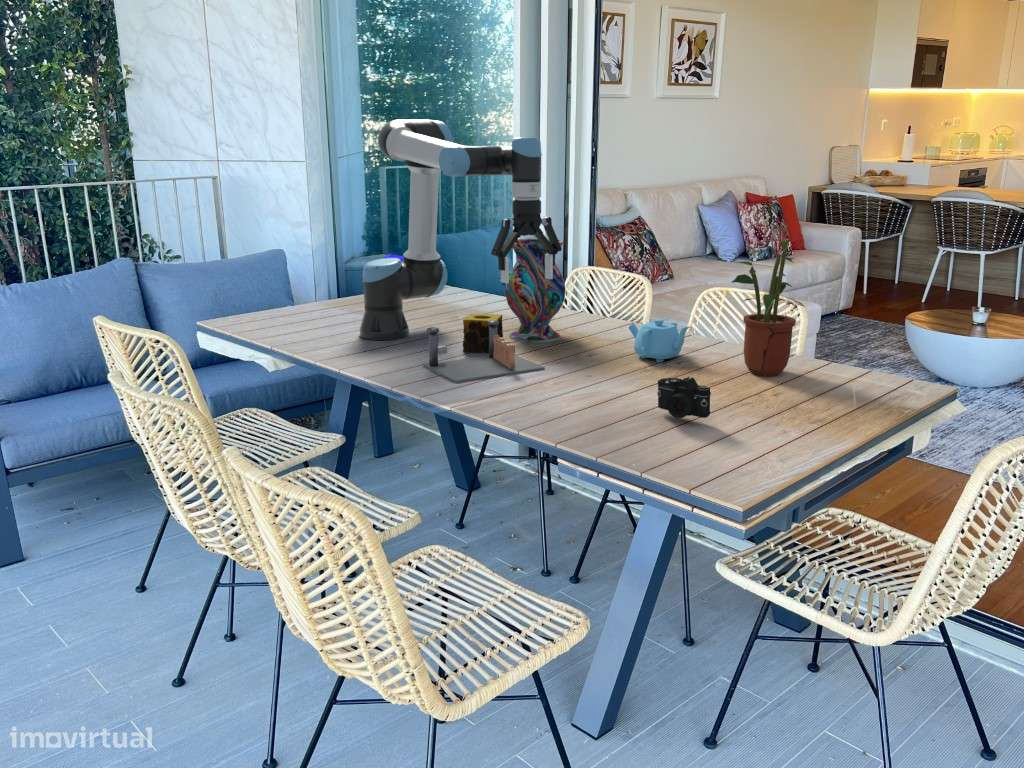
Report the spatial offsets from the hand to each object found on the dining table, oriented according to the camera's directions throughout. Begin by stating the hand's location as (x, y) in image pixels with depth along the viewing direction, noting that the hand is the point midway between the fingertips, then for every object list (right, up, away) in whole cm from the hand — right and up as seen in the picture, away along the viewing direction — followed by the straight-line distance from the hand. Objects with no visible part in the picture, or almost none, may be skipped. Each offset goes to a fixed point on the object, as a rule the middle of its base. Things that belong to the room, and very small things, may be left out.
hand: (527, 280), depth 231 cm
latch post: (-24, -23, +5) cm, 34 cm away
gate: (-6, -22, +5) cm, 23 cm away
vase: (+3, -14, +38) cm, 40 cm away
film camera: (+34, -35, -35) cm, 60 cm away
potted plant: (+60, -25, -2) cm, 65 cm away
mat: (-12, -23, +4) cm, 26 cm away
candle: (-12, -18, +23) cm, 32 cm away
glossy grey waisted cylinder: (-9, -21, +13) cm, 26 cm away
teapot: (+37, -21, +14) cm, 45 cm away
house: (-50, +8, +115) cm, 126 cm away
